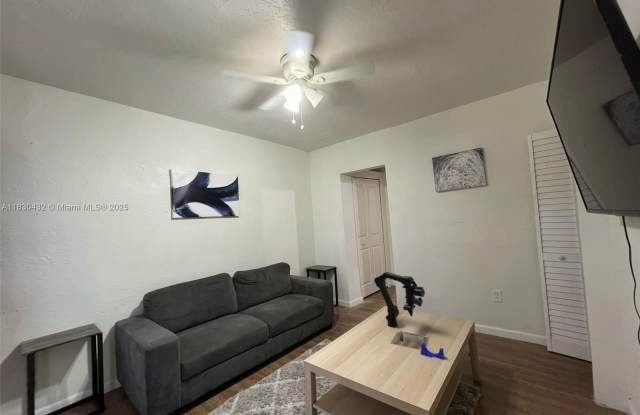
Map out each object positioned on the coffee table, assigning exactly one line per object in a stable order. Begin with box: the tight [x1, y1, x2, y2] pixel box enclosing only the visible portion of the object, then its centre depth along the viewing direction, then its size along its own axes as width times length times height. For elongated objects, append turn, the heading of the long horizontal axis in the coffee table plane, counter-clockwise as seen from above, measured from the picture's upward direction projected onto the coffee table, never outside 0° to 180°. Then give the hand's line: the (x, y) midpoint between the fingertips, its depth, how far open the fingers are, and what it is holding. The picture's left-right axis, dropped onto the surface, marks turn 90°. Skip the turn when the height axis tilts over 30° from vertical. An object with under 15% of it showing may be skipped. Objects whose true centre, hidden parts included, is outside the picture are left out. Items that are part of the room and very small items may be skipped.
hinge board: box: [389, 331, 430, 351], centre depth 173 cm, size 22×18×1 cm
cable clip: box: [420, 343, 445, 360], centre depth 153 cm, size 12×4×6 cm, turn 49°
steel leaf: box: [398, 330, 424, 345], centre depth 170 cm, size 15×2×6 cm, turn 58°
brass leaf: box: [402, 331, 425, 341], centre depth 171 cm, size 13×1×5 cm, turn 59°
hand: (411, 316), depth 186 cm, fingers closed
